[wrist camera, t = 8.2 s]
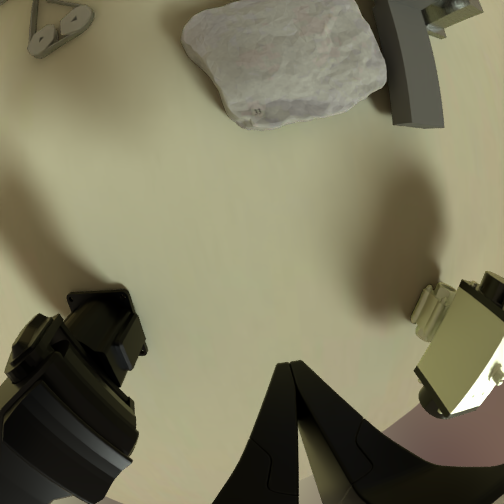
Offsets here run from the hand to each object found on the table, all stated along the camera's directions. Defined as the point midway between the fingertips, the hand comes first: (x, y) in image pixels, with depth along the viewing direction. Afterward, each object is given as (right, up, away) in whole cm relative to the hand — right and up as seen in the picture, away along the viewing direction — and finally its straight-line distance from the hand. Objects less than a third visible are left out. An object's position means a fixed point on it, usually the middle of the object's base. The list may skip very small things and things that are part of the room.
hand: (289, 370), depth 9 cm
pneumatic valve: (+16, -1, +14) cm, 21 cm away
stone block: (+1, +17, +7) cm, 19 cm away
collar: (+10, +20, +5) cm, 23 cm away
